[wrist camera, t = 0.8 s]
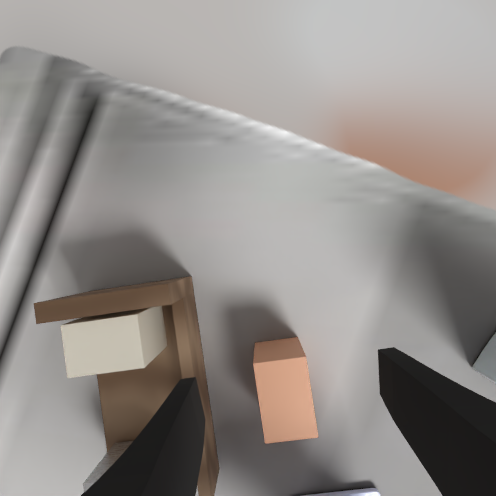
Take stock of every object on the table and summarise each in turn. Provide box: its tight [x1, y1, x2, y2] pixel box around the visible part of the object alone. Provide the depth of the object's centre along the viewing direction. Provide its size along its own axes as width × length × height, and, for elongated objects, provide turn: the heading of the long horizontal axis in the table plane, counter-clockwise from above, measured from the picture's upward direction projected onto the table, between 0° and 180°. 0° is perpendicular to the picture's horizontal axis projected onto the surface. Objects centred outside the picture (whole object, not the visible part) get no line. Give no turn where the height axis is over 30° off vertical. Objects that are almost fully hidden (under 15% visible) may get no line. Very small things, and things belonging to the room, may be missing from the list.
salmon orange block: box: [253, 337, 318, 444], centre depth 23 cm, size 4×6×5 cm, turn 9°
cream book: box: [61, 306, 167, 378], centre depth 23 cm, size 4×6×5 cm, turn 99°
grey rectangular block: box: [83, 441, 133, 492], centre depth 23 cm, size 2×6×4 cm, turn 98°
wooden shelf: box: [34, 276, 219, 496], centre depth 23 cm, size 18×10×7 cm, turn 9°
